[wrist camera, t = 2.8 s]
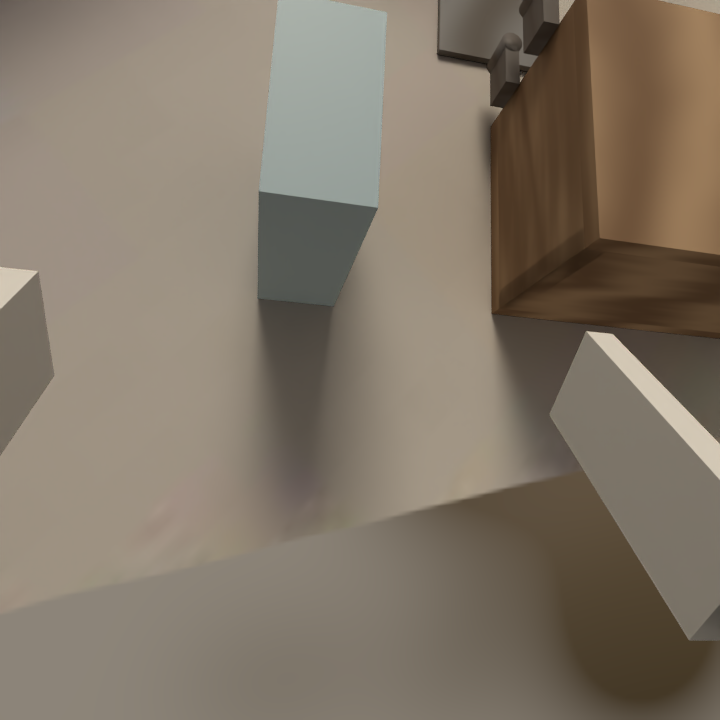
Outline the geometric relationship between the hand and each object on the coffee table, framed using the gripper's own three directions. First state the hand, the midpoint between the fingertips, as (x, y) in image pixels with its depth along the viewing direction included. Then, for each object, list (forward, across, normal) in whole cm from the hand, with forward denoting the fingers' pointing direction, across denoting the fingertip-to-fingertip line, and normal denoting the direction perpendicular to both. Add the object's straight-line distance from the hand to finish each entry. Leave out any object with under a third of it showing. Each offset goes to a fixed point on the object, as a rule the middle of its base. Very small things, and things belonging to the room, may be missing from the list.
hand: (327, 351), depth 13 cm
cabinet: (+24, +17, +4) cm, 30 cm away
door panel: (+17, 0, -3) cm, 18 cm away
